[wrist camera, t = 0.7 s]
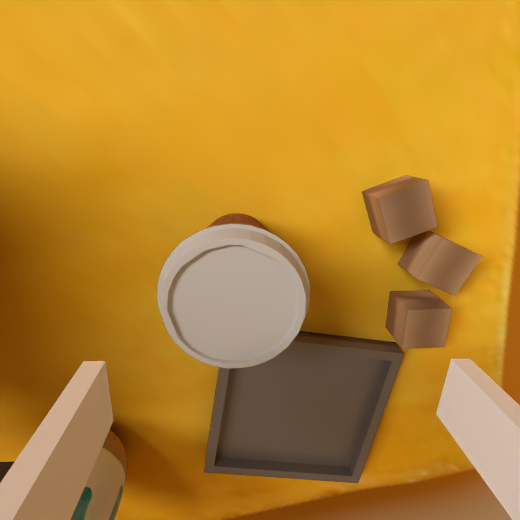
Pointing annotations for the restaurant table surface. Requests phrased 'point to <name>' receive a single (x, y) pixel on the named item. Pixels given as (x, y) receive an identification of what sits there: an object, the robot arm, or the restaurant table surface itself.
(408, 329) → the cube
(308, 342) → the tray
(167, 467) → the restaurant table surface
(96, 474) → the vase
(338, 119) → the restaurant table surface
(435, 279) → the cube
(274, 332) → the disposable coffee cup
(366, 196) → the cube
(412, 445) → the restaurant table surface
